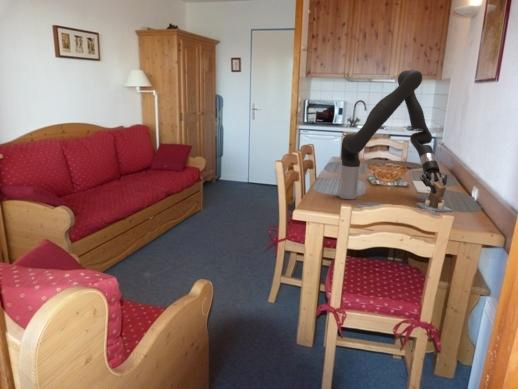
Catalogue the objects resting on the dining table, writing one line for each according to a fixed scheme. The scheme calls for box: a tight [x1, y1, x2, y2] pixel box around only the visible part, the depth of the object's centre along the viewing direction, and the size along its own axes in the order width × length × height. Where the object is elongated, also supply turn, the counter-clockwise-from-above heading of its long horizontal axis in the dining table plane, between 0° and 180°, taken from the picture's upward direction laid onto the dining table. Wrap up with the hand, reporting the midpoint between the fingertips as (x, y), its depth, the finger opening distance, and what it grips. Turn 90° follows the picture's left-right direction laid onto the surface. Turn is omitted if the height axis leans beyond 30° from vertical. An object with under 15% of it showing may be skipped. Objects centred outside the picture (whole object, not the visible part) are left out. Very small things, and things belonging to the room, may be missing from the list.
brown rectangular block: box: [427, 182, 447, 207], centre depth 197 cm, size 4×6×11 cm, turn 7°
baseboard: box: [411, 180, 431, 195], centre depth 241 cm, size 31×3×12 cm
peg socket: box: [416, 198, 453, 213], centre depth 199 cm, size 12×12×4 cm
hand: (438, 193), depth 195 cm, fingers closed on brown rectangular block, 3 cm apart
